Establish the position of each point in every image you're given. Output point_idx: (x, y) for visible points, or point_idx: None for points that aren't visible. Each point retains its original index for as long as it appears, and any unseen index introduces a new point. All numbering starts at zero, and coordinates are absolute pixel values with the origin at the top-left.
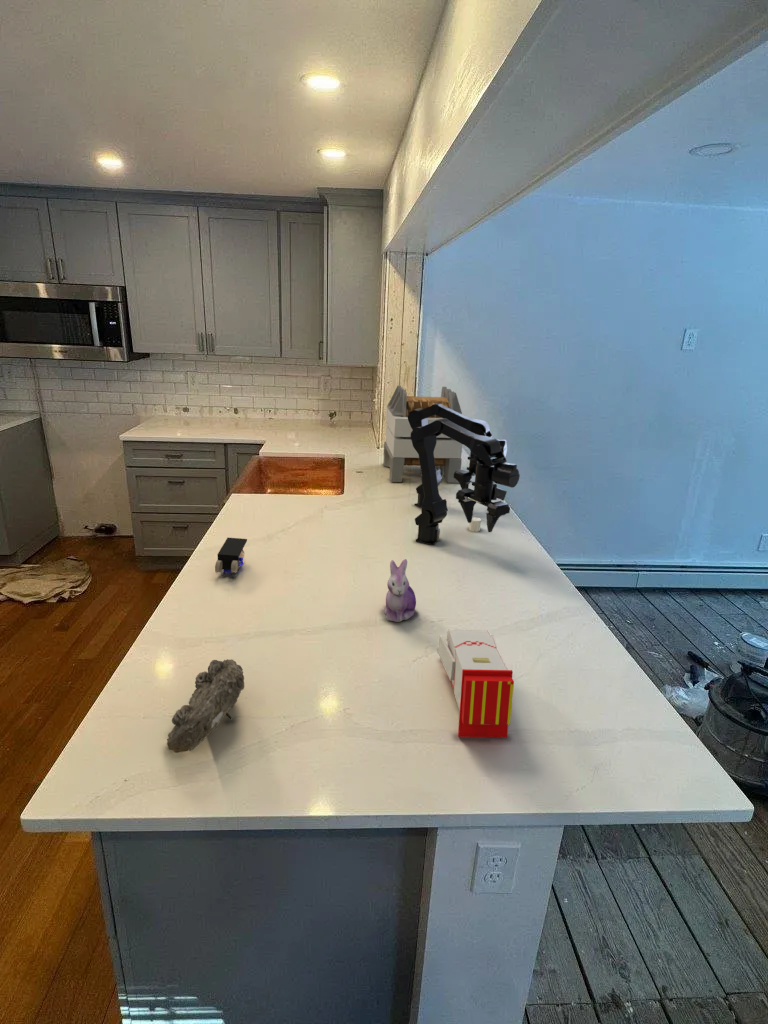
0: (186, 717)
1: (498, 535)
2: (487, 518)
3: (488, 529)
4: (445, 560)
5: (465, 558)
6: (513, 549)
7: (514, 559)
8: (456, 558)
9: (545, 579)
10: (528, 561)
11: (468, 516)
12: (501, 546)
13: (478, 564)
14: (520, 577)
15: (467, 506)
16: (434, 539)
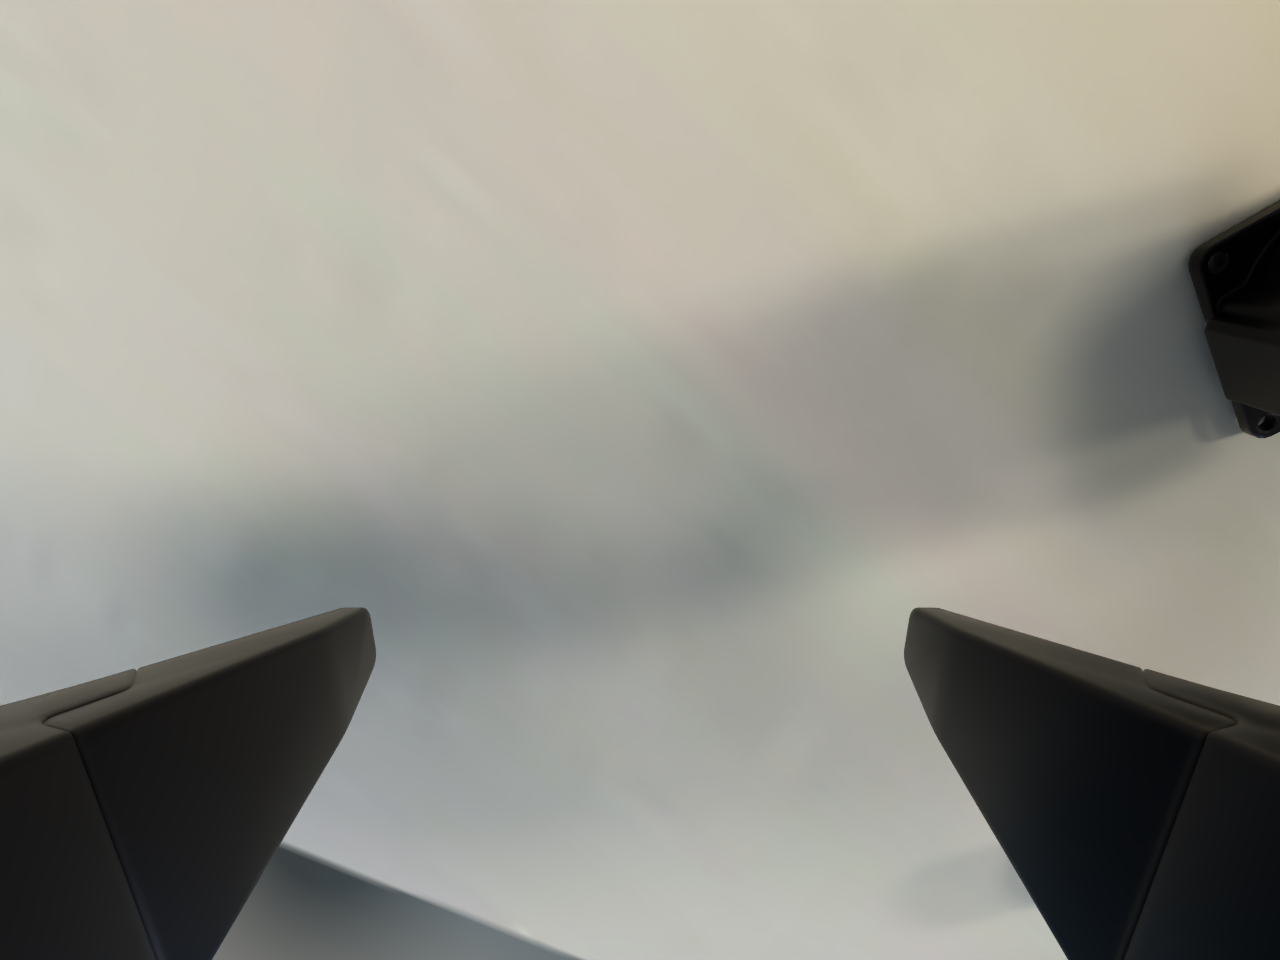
0: None
1: (911, 912)
2: (7, 738)
3: (305, 621)
4: (797, 98)
5: (714, 351)
6: (638, 833)
7: (476, 718)
8: (767, 261)
9: (54, 663)
10: (397, 778)
11: (983, 675)
12: (735, 799)
13: (534, 370)
14: (144, 518)
15: (1225, 879)
16: (1248, 306)
